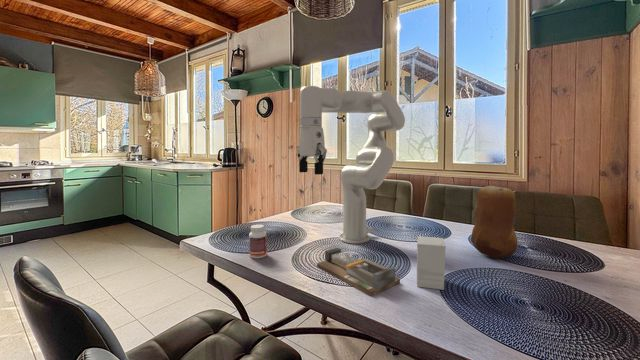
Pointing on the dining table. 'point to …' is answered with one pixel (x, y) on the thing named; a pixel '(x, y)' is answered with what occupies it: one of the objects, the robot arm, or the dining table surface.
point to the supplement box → (430, 262)
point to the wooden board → (363, 276)
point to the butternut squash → (495, 222)
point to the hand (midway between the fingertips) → (310, 173)
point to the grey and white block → (339, 257)
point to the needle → (359, 265)
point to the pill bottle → (257, 242)
